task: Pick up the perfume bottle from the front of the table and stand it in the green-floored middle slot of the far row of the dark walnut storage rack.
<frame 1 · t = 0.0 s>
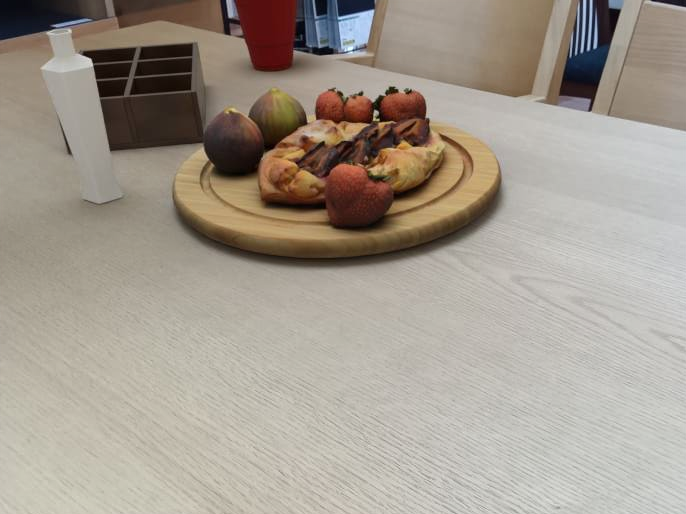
wooden plate: (338, 189, 74), on the table
rack: (143, 116, 93), on the table
plastic cup: (274, 66, 109), on the table
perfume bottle: (104, 196, 74), on the table
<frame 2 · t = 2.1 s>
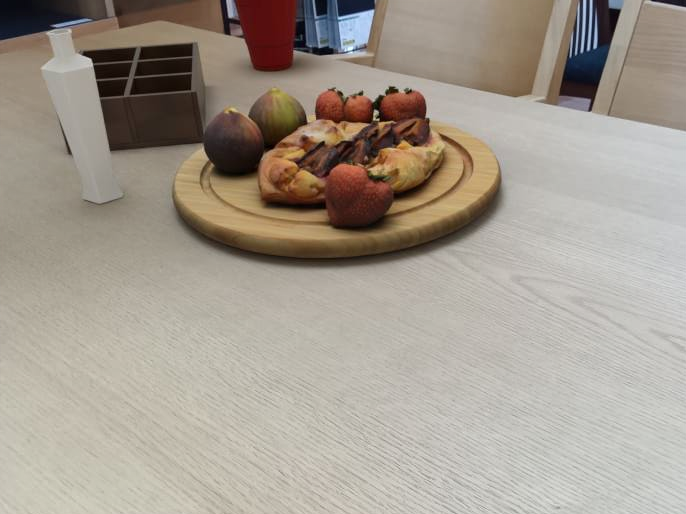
nothing on the table moved.
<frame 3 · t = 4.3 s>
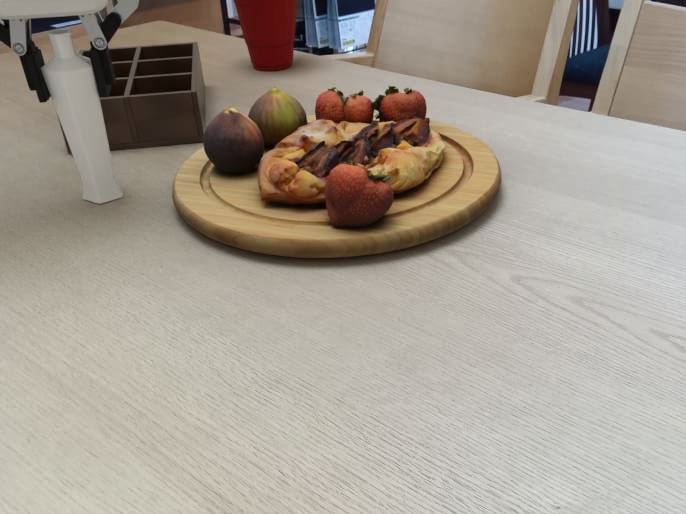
hand: (75, 93, 68), 10 cm above the table, tool pointing down, fingers closed on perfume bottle, 4 cm apart
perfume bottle: (104, 196, 74), on the table, touching gripper
everything else where it was.
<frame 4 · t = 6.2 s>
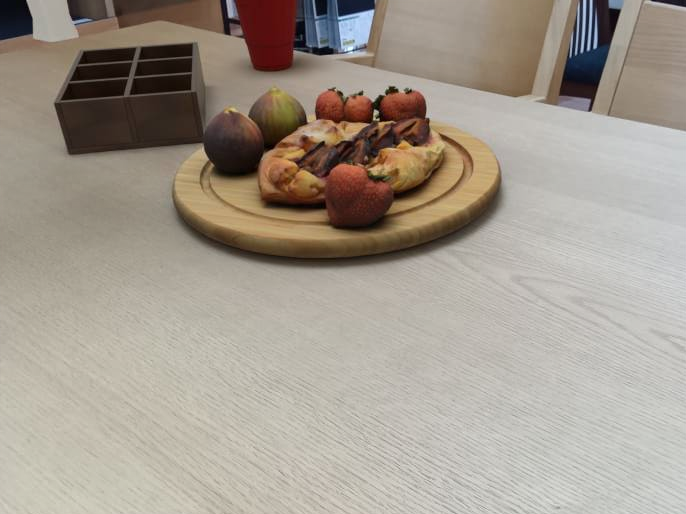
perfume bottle: (57, 38, 66), point 14 cm above the table, touching gripper
everything else where it was.
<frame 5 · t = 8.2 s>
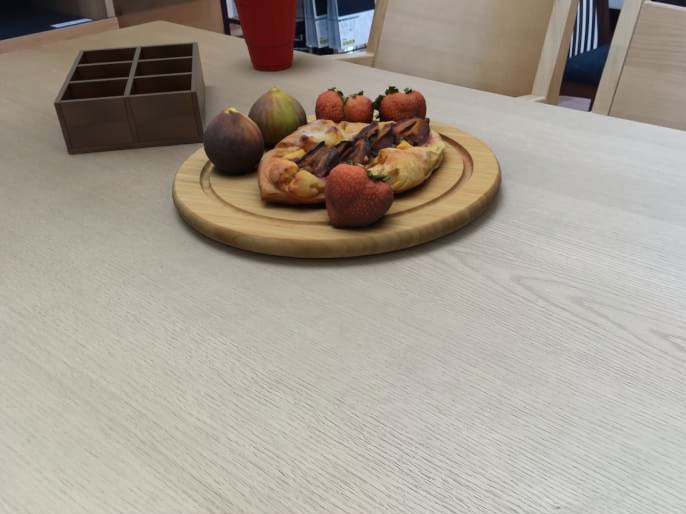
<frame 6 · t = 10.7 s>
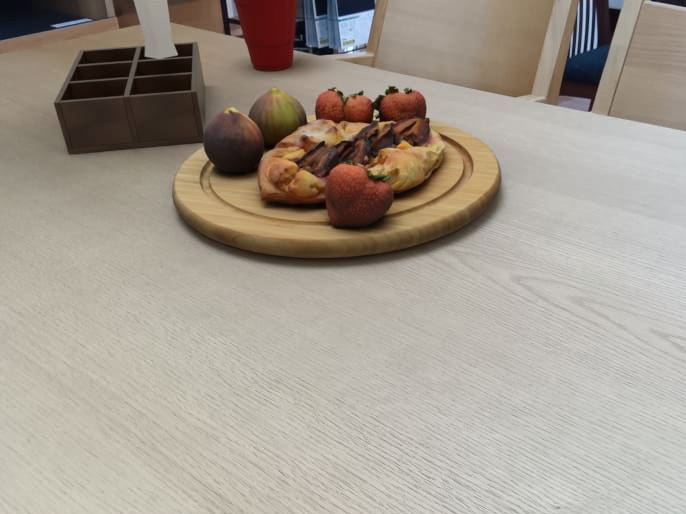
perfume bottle: (161, 55, 89), point 7 cm above the table, touching gripper
everything else where it was.
when the fingers open (11 cm above the table, at t = 12.5 s): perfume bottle stays where it is, resting on rack.
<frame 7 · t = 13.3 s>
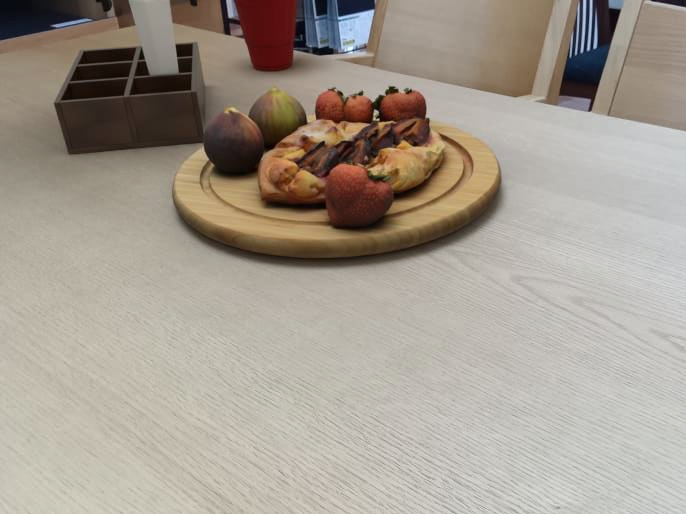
hand: (151, 6, 86), 12 cm above the table, tool pointing down, fingers open, 9 cm apart
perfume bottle: (171, 109, 93), point 1 cm above the table, touching rack
everything else where it was.
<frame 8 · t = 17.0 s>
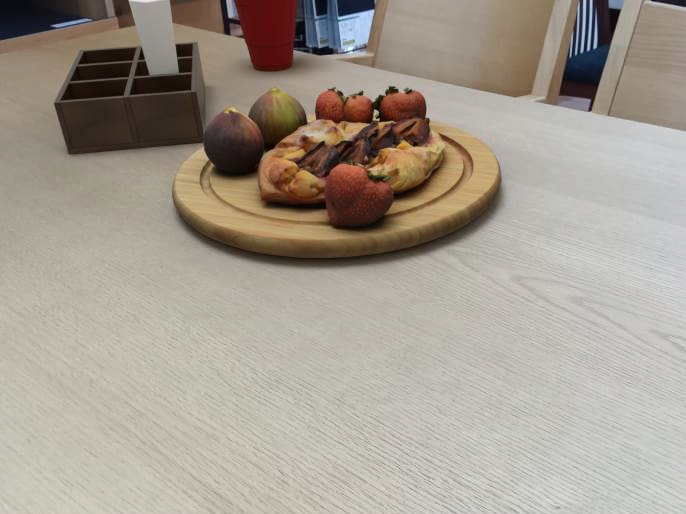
nothing on the table moved.
at the end: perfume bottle 0.1 cm from the target spot in the rack, point 0.6 cm above the rack's base; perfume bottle tilted 0°; the gripper is holding nothing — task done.
